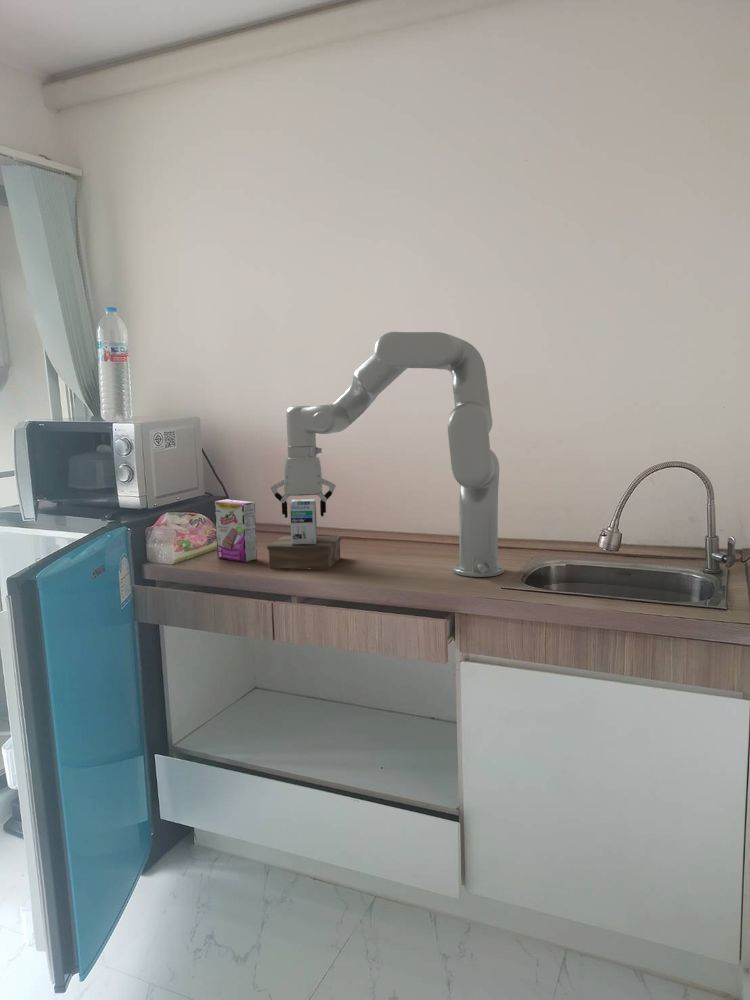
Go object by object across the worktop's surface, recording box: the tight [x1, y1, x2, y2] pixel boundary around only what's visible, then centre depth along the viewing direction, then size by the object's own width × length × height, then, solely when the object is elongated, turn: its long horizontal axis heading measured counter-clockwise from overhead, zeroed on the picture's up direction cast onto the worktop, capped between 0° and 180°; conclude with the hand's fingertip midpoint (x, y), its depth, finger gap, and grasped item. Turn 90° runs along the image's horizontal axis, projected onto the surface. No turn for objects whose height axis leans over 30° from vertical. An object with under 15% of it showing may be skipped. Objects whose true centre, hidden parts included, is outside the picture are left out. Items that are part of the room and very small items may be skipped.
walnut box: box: [266, 535, 342, 570], centre depth 198 cm, size 15×17×6 cm
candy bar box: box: [214, 498, 258, 563], centre depth 204 cm, size 11×5×16 cm, turn 57°
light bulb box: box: [289, 498, 318, 545], centre depth 197 cm, size 11×7×11 cm, turn 3°
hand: (304, 516), depth 196 cm, fingers open, 9 cm apart
